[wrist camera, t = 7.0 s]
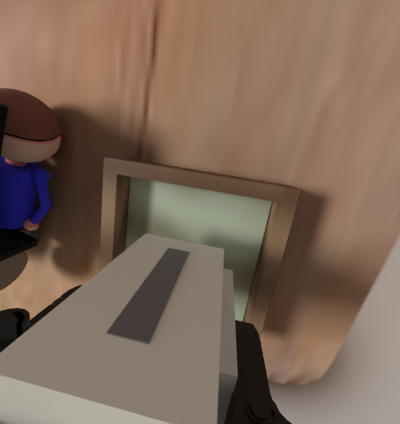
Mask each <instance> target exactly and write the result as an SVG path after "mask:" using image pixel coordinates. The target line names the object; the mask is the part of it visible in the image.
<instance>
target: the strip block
mask: <svg viewBox="0 0 400 424" xmlns="http://www.w3.org/2000/svg"><path fill="white" fill-rule="evenodd" d="M223 264H224V249H222V248H217V247H212V246H207V245H202V244H197V243H192V242H187V241H182V240H177V239H172V238H167V237H162V236H157V235H152V234H147V233H146V234H145V235H143V236H142V237H141V238H140V239H138V240H137V241H136V242H135V243H134V244H132V245H131V246H130V247H129V248H127V249H126V250H125V251H124V252H123V253H121V254H120V255H119V256H118V257H116V258H115V259H114V260H113V261H112V262H110V263H109V264H108V265H107V266H106V267H104V268H103V269H102V270H101V271H99V272H98V273H97V274H96V275H95V276H93V277H92V278H91V279H90V280H88V281H87V282H86V283H85V284H84V285H82V286H81V287H80V288H79V289H77V290H76V291H75V292H74V293H73V294H71V295H70V296H69V297H68V298H66V299H65V300H64V301H63V302H62V303H60V304H59V305H58V306H57V307H55V308H54V309H53V310H52V311H51V312H49V313H48V314H47V315H46V316H44V317H43V318H42V319H41V320H40V321H38V322H37V323H36V324H35V325H33V326H32V327H31V328H30V329H29V330H27V331H26V332H25V333H24V334H22V335H21V336H20V337H19V338H18V339H16V340H15V341H14V342H13V343H11V344H10V345H9V346H8V347H7V348H5V349H4V350H3V351H2V352H0V424H217V410H218V386H219V362H220V337H221V313H222V288H223Z"/></svg>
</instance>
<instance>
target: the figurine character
mask: <svg viewBox="0 0 400 424" xmlns="http://www.w3.org/2000/svg"><path fill="white" fill-rule="evenodd" d="M61 142H62V129H61V125H60V123H59V121H58V119H57V117H56V115H55V114H54V113H53V111H52V110H51V109H50V108H49V107H48V106H47V105H46V104H44V103H43V102H42V101H40V100H39V99H37V98H36V97H34V96H32V95H30V94H28V93H25V92H22V91H19V90H15V89H7V88H0V290H2V289H4V288H6V287H7V286H9V285H10V284H11V283H12V282H13V281H15V280H16V279H17V277H18V276H19V275H20V274H21V273H22V271H23V270H24V268H25V266H26V264H27V261H28V255H27V253H26V252H24V251H26V250H28V249H30V248H32V247H35V246H37V243H38V240H37V238H38V232H39V225H40V223H39V222H40V221H41V220H42V218H43V217H44V216H45V215H46V214H47V212H48V211H49V210H50V209H51V208H52V204H51V199H50V194H49V190H48V185H47V181H48V180H49V179H50V174H49V172H48V171H46V170H44V169H41V166H40V165H39V164H38V163H37V162H39V161H43V160H45V159H47V158H49V157H51V156H52V155H54V154H55V153H56V151H57V150H58V149H59V147H60V145H61ZM37 193H38V196H39V201H40V205H41V206H40V207H39V208H38V209H37V211H36V212H35V208H36V200H37ZM19 230H29V231H31V236H29V235H27V234H25V233H23V232H21V231H19Z"/></svg>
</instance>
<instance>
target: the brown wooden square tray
mask: <svg viewBox="0 0 400 424" xmlns="http://www.w3.org/2000/svg"><path fill="white" fill-rule="evenodd" d="M300 193H301V190H300V189H297V188H294V187H291V186H288V185H282V184H276V183H270V182H264V181H258V180H252V179H246V178H240V177H234V176H228V175H222V174H216V173H210V172H204V171H198V170H192V169H186V168H180V167H174V166H168V165H162V164H156V163H150V162H144V161H138V160H132V159H126V158H111V157H104V166H103V190H102V214H101V238H100V263H99V271H101V270H102V269H103V268H104V267H106V266H107V265H108V264H109V263H110V262H112V261H113V260H114V259H115V258H116V257H118V256H119V255H120V254H121V253H123V252H124V251H125V250H126V249H127V248H129V247H130V246H131V245H132V244H134V243H135V242H136V241H137V240H138V239H140V238H141V237H142V236H143V235H145V234H146V233H147V234H152V235H157V236H162V237H167V238H172V239H177V240H182V241H187V242H192V243H197V244H202V245H207V246H212V247H217V248H222V249H224V264H223V268H224V269H229V270H233V287H234V309H235V320H238V321H242V322H247V323H251V324H253V325H254V327H255V328H256V330H257V331H258V333H259V336H260V337H261V333H262V330H263V326H264V323H265V319H266V315H267V312H268V308H269V305H270V301H271V297H272V294H273V290H274V287H275V283H276V279H277V276H278V272H279V269H280V265H281V261H282V258H283V254H284V251H285V247H286V243H287V240H288V236H289V232H290V229H291V225H292V222H293V218H294V214H295V211H296V207H297V204H298V200H299V196H300Z"/></svg>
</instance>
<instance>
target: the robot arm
mask: <svg viewBox="0 0 400 424" xmlns="http://www.w3.org/2000/svg"><path fill="white" fill-rule="evenodd" d="M81 286H82V285H79V286H77V287H74V288H72V289H70V290H68V291H67V292H66V293H64V294H63V295H62V296H61V297H60V298H59V299H57V300H55V301H54V302H53V303H52V304H51V305H49V306H48V307H46V308H45V309H44V310H43V311H41V312H40V313H39V314H37V315H36V316H35V317H34V318H32V319H31V320H30V316H29V312H28V311H26V310H25V309H20V308H14V309H7V310H3V311H0V352H2V351H3V350H4V349H5V348H7V347H8V346H9V345H10V344H11V343H13V342H14V341H15V340H16V339H18V338H19V337H20V336H21V335H22V334H24V333H25V332H26V331H27V330H29V329H30V328H31V327H32V326H33V325H35V324H36V323H37V322H38V321H40V320H41V319H42V318H43V317H44V316H46V315H47V314H48V313H49V312H51V311H52V310H53V309H54V308H55V307H57V306H58V305H59V304H60V303H62V302H63V301H64V300H65V299H66V298H68V297H69V296H70V295H71V294H73V293H74V292H75V291H76V290H77V289H79V288H80V287H81ZM217 424H291V423H290V422H289V421H288V420H286V418H285V417H284V416H283V415H282V414H281V413H280V412H279V410H278V408H277V406H276V404H275V403H274V401H273V400H272V397H271V394H270V391H269V385H268V379H267V374H266V369H265V363H264V358H263V352H262V347H261V342H260V336H259V333H258V331H257V330H256V328H255V327H254V325H253V324H251V323H247V322H242V321H238V320H235V309H234V287H233V270H229V269H224V268H223V288H222V313H221V337H220V362H219V386H218V410H217Z"/></svg>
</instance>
